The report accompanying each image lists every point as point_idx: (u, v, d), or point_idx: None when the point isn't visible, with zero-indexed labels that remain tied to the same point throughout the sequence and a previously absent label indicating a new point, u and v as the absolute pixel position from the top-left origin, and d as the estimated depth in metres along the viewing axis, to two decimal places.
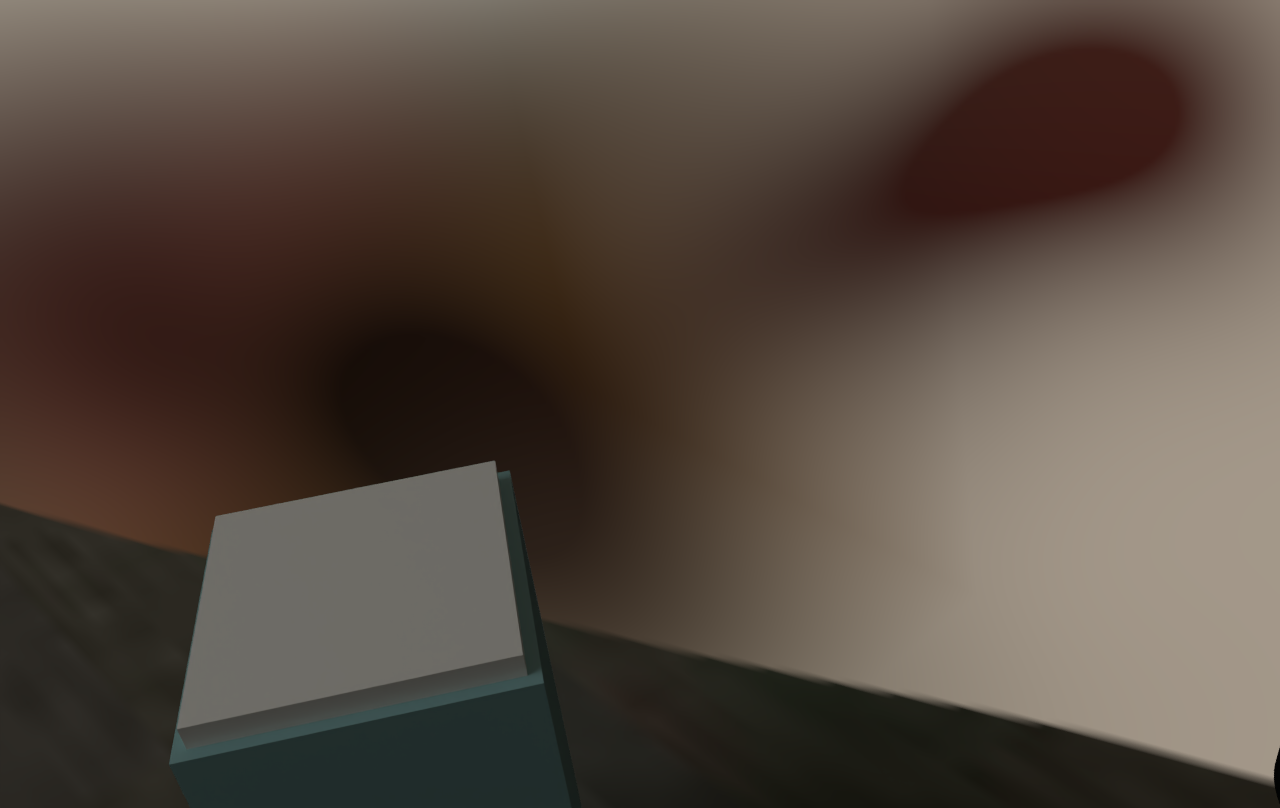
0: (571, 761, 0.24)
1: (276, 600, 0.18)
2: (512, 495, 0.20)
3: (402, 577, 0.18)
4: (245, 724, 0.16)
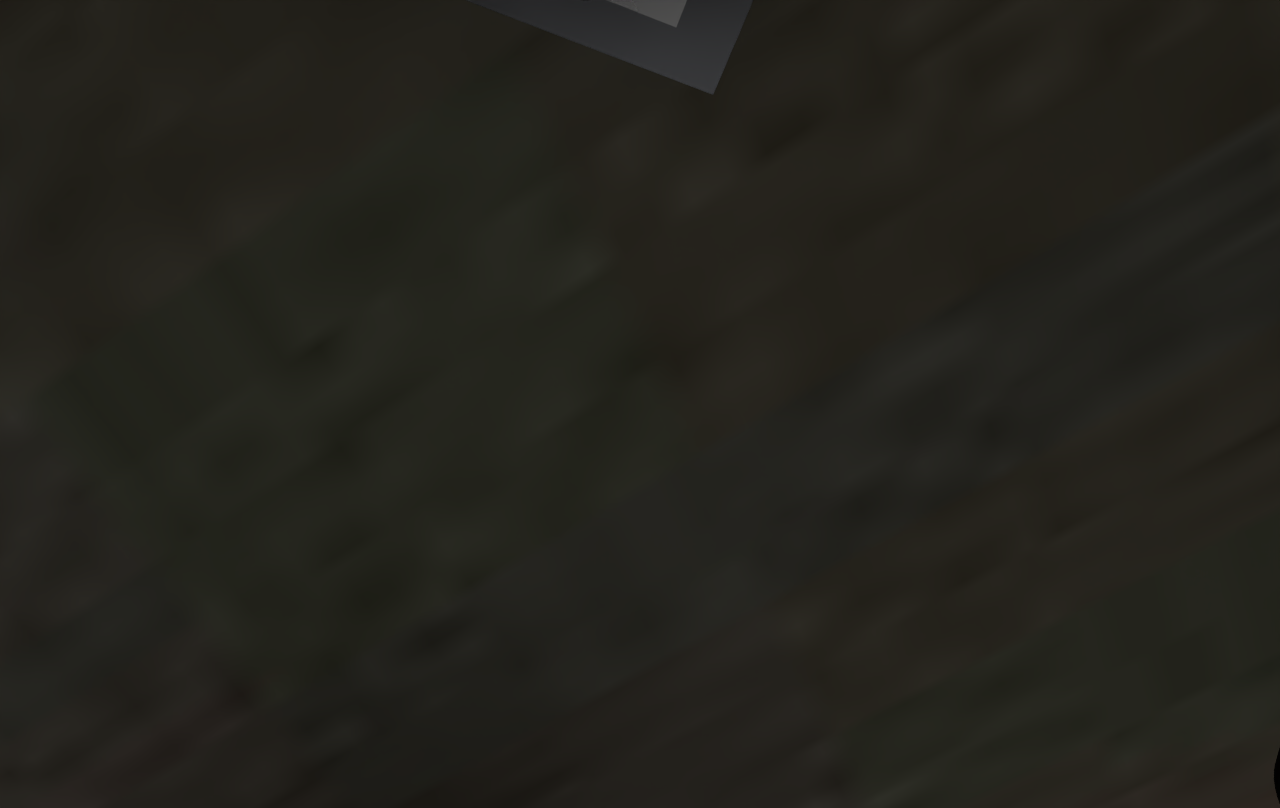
0: None
1: None
2: None
3: None
4: None
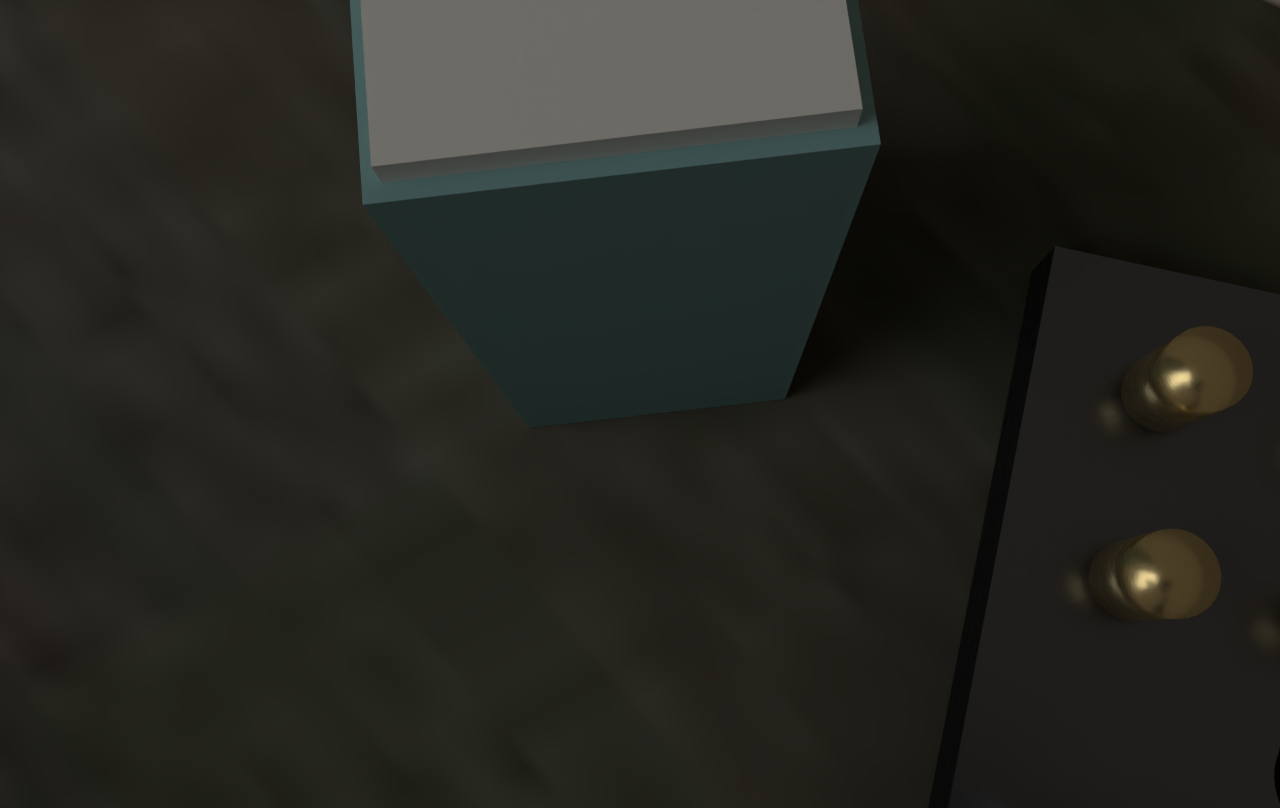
0: None
1: None
2: None
3: None
4: (464, 164, 0.11)
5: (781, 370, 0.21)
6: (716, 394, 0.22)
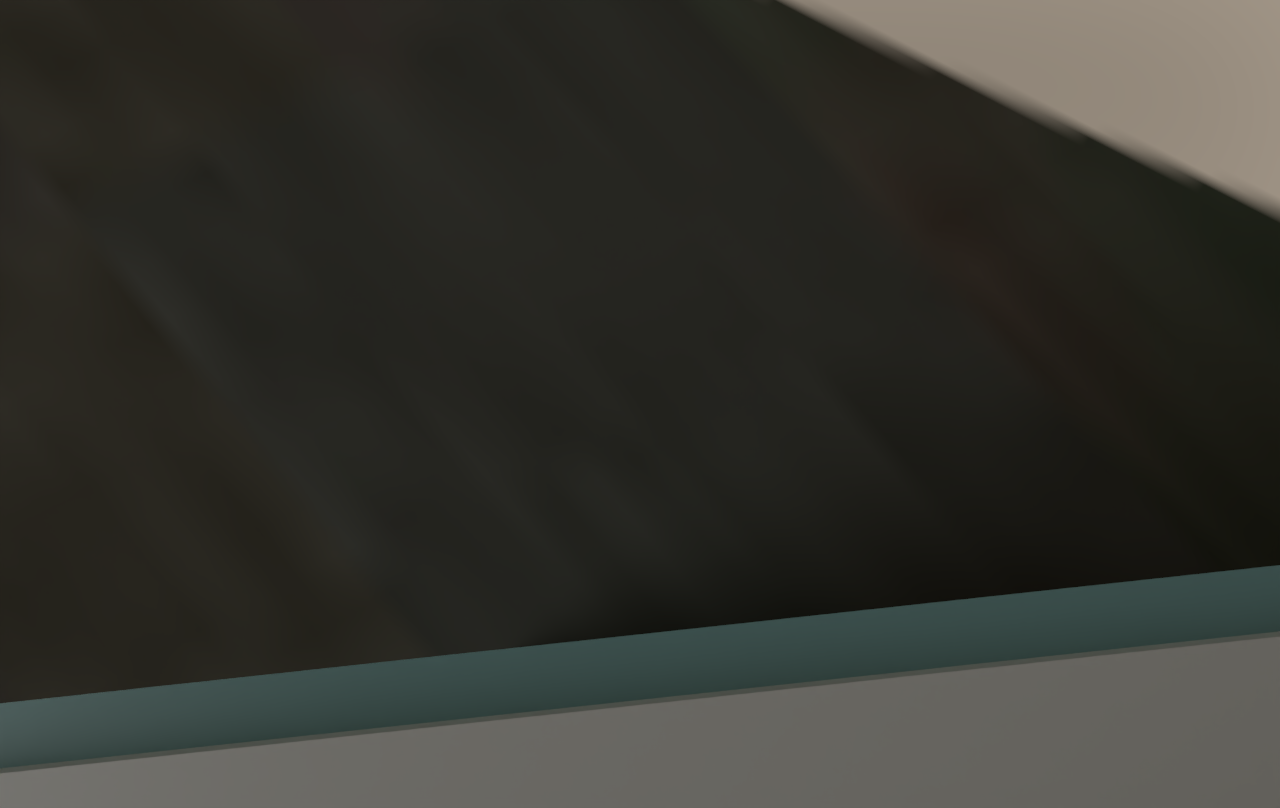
0: None
1: None
2: None
3: None
4: None
5: None
6: None
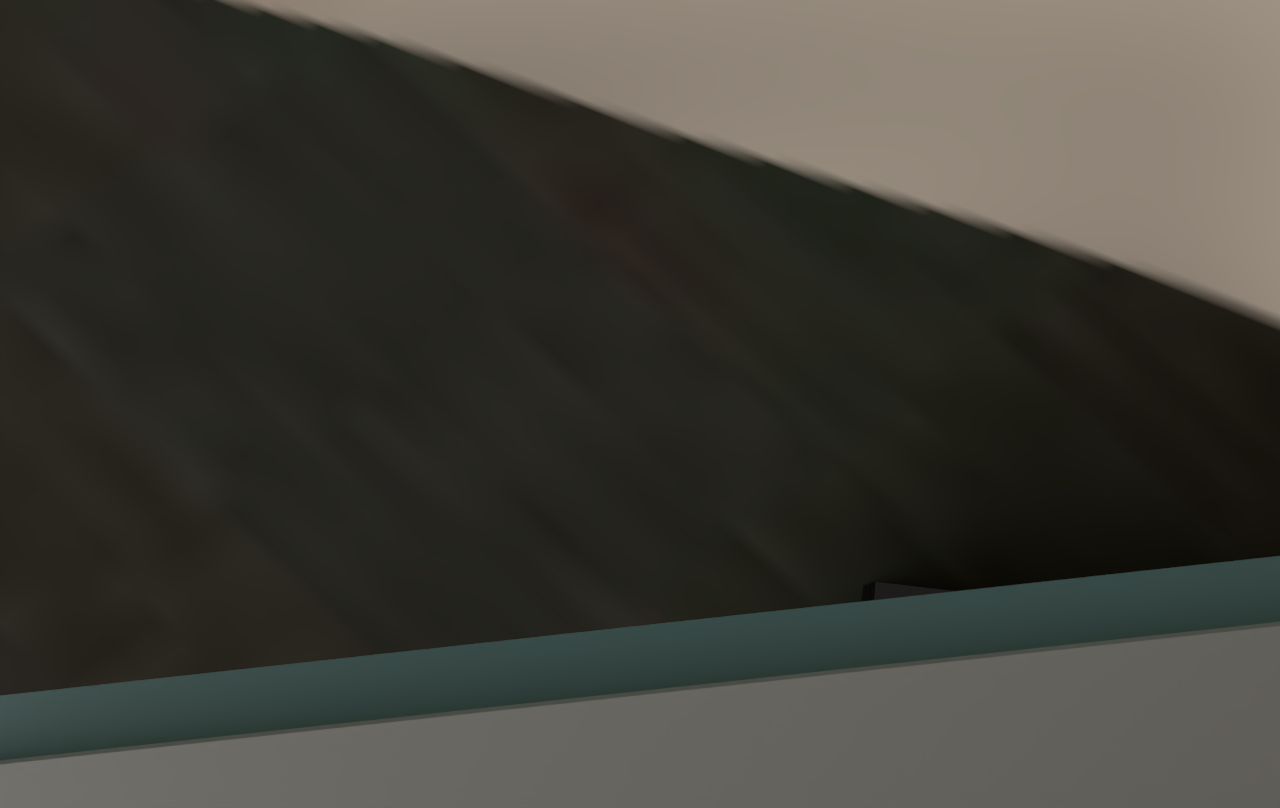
0: None
1: None
2: None
3: None
4: None
5: None
6: None
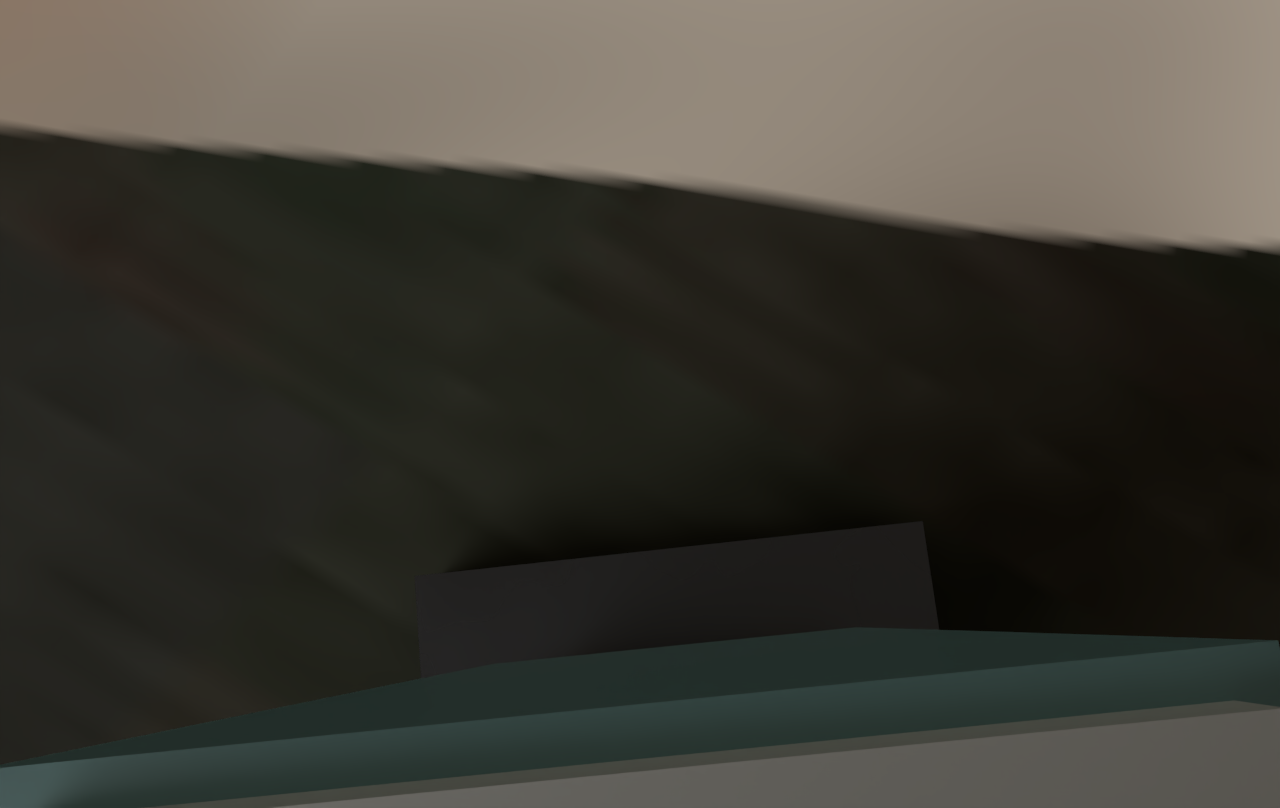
0: None
1: None
2: None
3: None
4: None
5: None
6: None
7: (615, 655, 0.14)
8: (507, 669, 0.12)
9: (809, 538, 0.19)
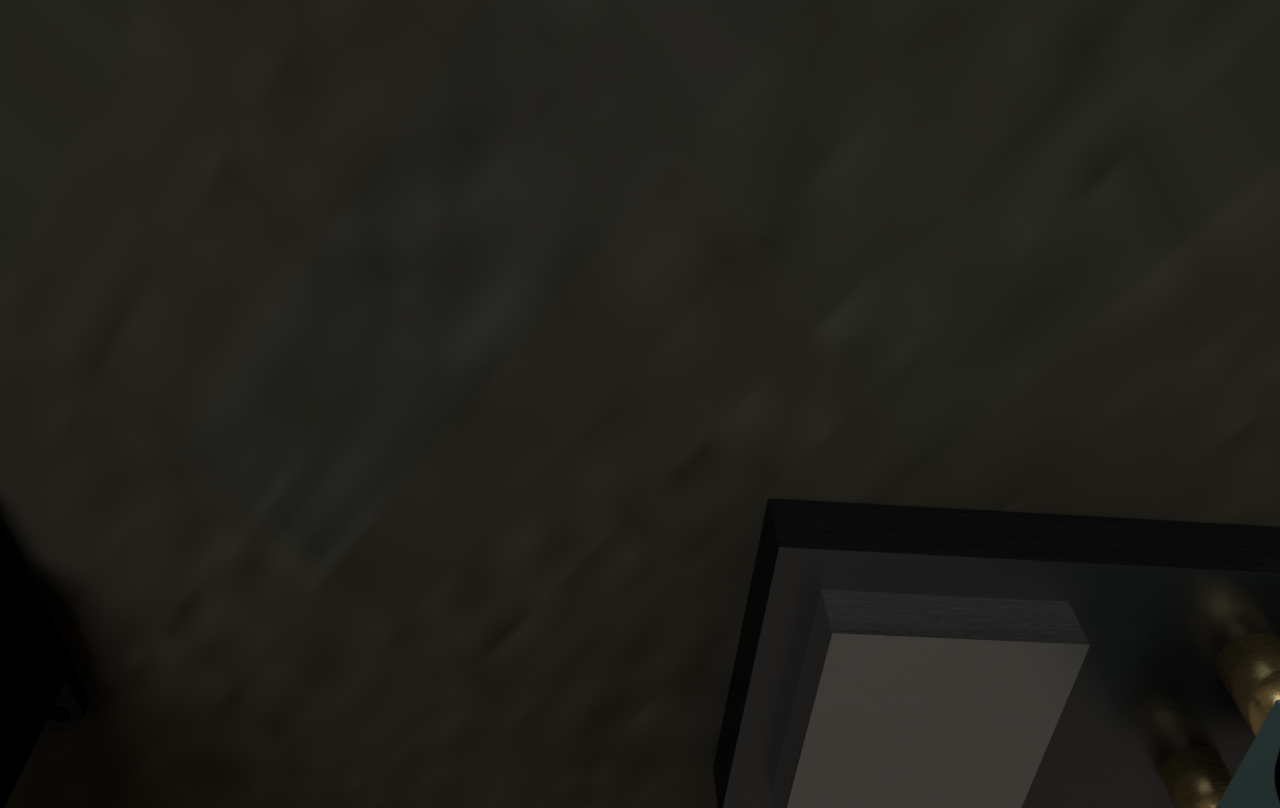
0: None
1: None
2: None
3: None
4: None
5: None
6: None
7: None
8: None
9: None
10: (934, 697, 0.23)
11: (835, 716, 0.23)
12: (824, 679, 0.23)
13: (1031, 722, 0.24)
